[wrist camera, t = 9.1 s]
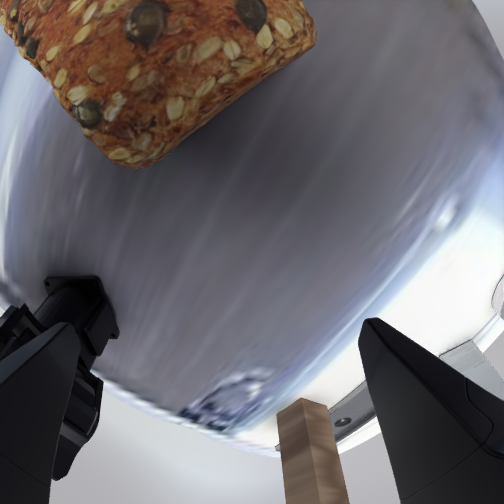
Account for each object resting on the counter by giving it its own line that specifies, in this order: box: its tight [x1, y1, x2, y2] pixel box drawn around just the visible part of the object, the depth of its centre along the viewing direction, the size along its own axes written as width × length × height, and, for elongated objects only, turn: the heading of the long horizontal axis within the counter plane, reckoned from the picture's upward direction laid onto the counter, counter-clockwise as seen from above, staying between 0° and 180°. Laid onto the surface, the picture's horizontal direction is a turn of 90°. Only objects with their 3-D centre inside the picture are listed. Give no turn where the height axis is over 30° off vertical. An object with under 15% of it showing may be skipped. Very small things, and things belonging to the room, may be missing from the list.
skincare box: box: [439, 340, 504, 400], centre depth 22 cm, size 6×4×12 cm
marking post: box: [276, 398, 350, 504], centre depth 22 cm, size 4×4×16 cm
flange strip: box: [275, 380, 377, 452], centre depth 30 cm, size 22×7×1 cm, turn 150°
